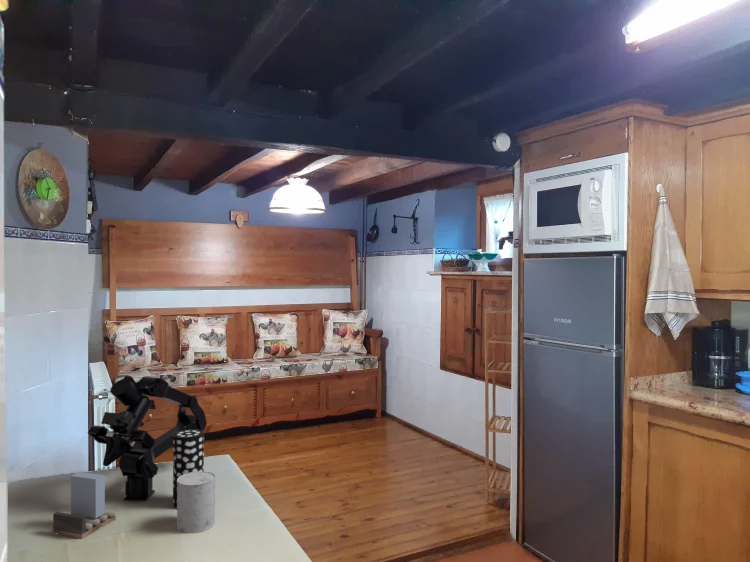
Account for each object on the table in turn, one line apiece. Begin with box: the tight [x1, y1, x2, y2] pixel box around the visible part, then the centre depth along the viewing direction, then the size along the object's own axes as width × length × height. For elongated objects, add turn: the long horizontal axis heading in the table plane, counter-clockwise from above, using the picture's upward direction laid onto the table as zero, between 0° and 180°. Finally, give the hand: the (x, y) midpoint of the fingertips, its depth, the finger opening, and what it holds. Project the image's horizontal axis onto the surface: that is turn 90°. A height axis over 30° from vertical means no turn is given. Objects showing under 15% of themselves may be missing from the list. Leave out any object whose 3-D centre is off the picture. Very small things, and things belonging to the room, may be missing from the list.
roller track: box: [52, 509, 116, 540], centre depth 140 cm, size 11×9×5 cm
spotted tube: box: [172, 429, 205, 509], centre depth 154 cm, size 8×8×20 cm
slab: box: [70, 471, 106, 518], centre depth 141 cm, size 3×8×10 cm, turn 73°
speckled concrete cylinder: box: [176, 470, 216, 534], centre depth 141 cm, size 10×10×12 cm
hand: (104, 465), depth 146 cm, fingers closed
